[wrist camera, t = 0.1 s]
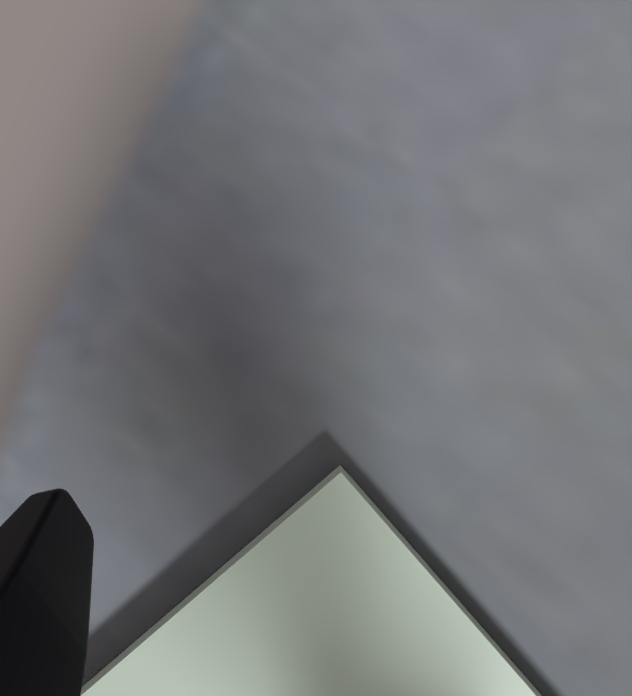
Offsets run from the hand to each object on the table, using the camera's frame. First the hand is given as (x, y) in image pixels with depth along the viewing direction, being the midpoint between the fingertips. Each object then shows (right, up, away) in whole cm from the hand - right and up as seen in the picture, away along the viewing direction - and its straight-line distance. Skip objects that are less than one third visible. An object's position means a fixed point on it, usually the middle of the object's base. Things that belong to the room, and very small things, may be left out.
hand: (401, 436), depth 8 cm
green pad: (-1, -13, +15) cm, 20 cm away
